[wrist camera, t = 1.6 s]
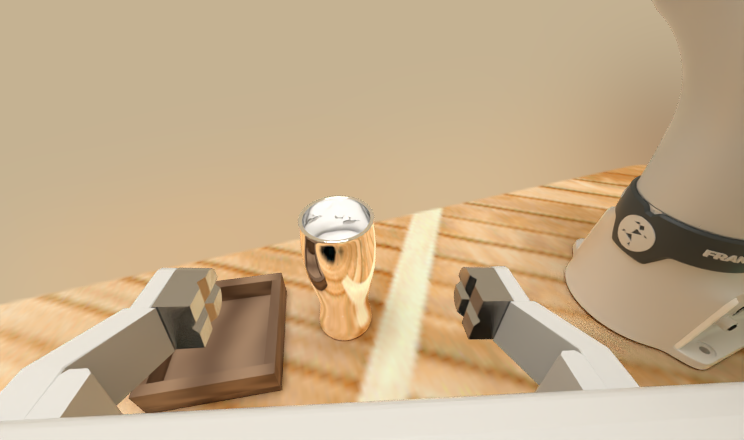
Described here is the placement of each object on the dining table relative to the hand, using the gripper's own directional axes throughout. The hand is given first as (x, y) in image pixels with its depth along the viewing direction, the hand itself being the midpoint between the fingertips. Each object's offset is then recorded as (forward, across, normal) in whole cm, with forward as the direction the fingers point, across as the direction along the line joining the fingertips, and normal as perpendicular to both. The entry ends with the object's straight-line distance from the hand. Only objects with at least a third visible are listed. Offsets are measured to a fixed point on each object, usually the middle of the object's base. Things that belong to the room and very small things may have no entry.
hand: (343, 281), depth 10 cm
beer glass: (+16, -1, +22) cm, 28 cm away
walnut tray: (+14, +12, +23) cm, 30 cm away
